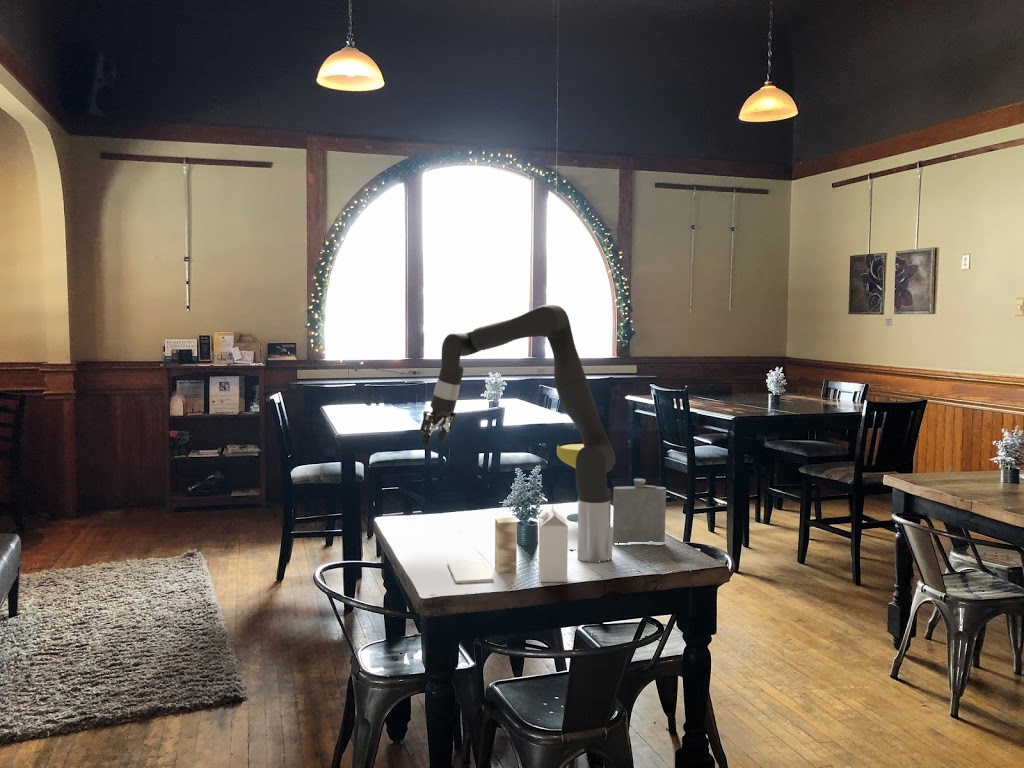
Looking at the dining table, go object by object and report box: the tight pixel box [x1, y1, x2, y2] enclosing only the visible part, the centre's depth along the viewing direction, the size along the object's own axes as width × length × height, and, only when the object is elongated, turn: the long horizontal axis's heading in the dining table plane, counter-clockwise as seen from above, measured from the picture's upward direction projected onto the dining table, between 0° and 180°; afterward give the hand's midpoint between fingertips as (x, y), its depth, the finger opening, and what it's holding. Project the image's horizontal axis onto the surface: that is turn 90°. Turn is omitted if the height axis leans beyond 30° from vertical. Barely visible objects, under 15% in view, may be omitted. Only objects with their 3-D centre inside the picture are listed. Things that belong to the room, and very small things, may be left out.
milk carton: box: [538, 504, 569, 583], centre depth 226 cm, size 7×7×19 cm
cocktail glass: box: [556, 441, 584, 522], centre depth 289 cm, size 18×18×25 cm
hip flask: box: [612, 478, 667, 544], centre depth 259 cm, size 16×4×20 cm, turn 92°
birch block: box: [494, 516, 518, 574], centre depth 233 cm, size 5×5×14 cm
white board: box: [447, 559, 495, 584], centre depth 231 cm, size 10×17×1 cm, turn 12°
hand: (432, 443), depth 267 cm, fingers open, 8 cm apart
